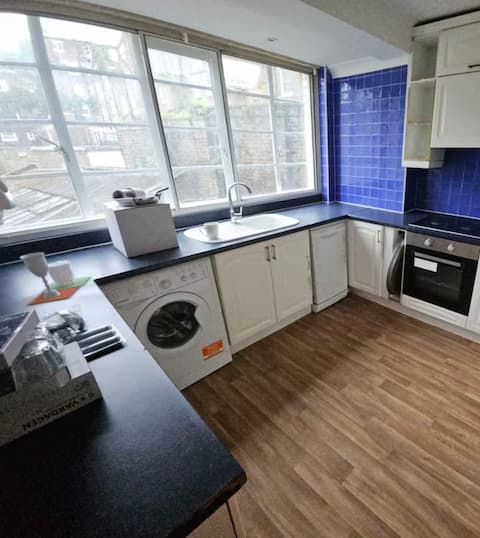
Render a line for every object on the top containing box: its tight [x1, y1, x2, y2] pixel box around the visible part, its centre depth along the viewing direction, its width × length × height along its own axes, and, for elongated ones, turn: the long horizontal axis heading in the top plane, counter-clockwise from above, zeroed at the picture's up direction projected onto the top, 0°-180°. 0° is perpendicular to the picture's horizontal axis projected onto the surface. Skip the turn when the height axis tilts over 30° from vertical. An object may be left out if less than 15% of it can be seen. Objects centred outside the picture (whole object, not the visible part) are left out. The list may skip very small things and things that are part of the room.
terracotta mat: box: [28, 287, 79, 306], centre depth 123 cm, size 12×11×1 cm
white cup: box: [47, 259, 77, 287], centre depth 131 cm, size 8×8×10 cm
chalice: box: [19, 251, 61, 299], centre depth 119 cm, size 7×7×18 cm
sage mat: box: [42, 276, 90, 293], centre depth 133 cm, size 13×11×1 cm
